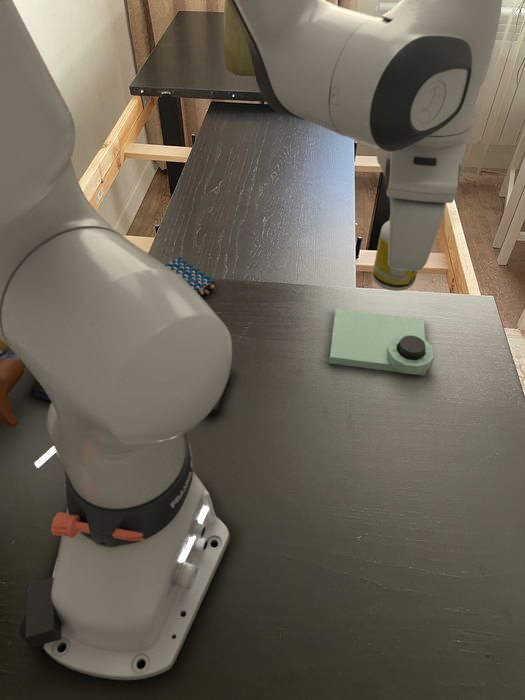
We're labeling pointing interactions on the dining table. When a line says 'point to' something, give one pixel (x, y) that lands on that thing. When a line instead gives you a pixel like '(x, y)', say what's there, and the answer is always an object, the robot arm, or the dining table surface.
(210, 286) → the woven mat
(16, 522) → the dining table surface
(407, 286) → the supplement bottle
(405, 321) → the scale
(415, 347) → the tare button
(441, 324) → the dining table surface
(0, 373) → the figurine
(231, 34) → the vase
